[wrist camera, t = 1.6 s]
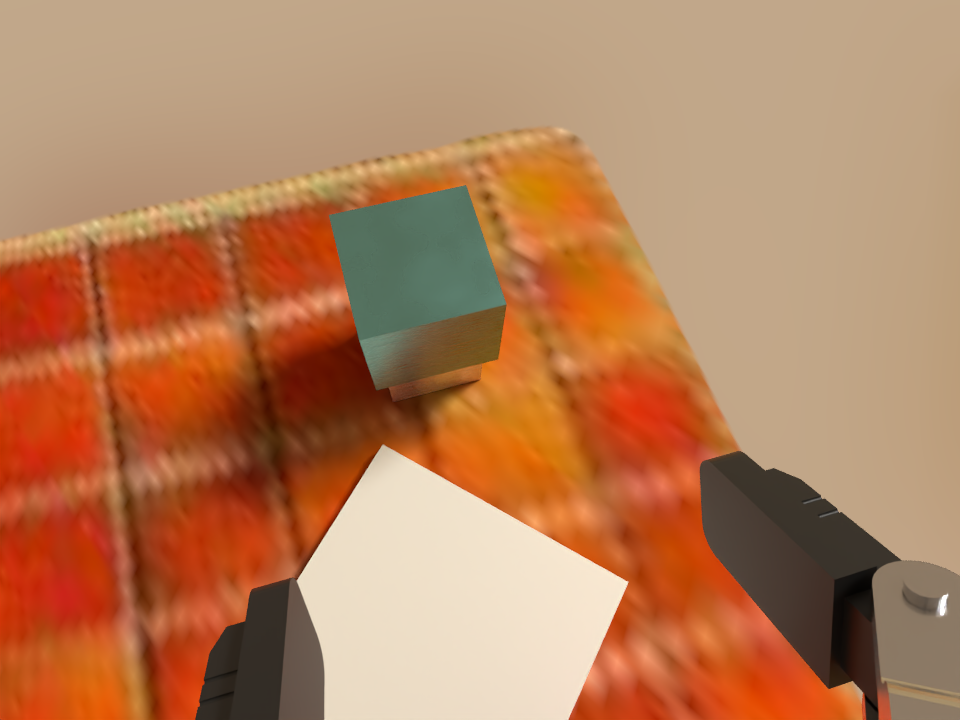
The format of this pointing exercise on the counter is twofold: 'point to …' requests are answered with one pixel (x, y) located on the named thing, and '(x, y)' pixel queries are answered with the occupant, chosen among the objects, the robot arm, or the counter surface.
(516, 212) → the counter surface
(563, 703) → the cream board
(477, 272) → the sage green cube
